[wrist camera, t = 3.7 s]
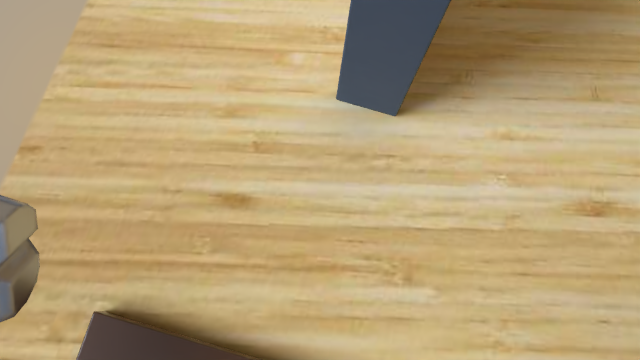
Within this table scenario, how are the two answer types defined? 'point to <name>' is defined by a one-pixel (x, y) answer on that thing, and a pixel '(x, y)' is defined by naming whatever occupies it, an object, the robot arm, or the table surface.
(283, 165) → the table surface
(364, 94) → the book
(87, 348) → the dark brown board
